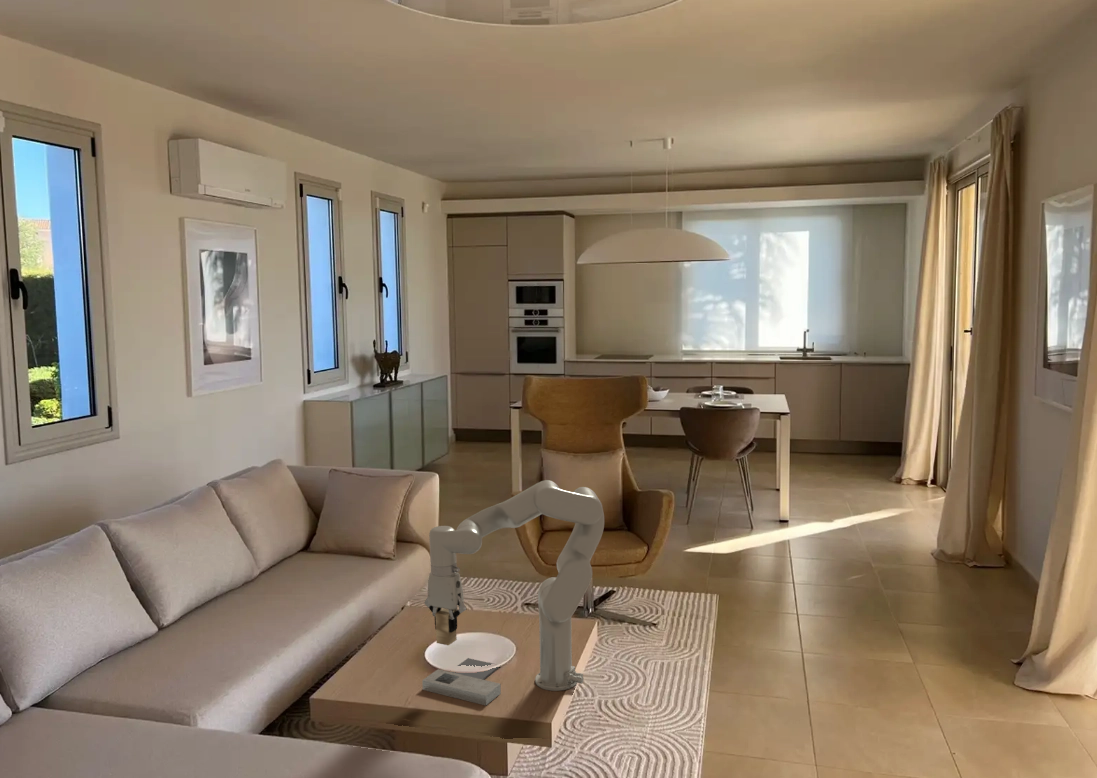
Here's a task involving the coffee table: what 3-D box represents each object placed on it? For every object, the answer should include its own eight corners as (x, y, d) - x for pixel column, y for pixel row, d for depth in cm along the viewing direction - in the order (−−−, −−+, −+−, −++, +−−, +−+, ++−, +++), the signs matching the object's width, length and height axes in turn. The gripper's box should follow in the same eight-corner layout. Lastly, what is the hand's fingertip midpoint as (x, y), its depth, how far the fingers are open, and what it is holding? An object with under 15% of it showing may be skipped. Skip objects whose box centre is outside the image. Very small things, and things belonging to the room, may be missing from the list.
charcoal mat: (500, 667, 262) (500, 665, 262) (480, 683, 252) (479, 681, 251) (468, 659, 268) (468, 658, 268) (446, 675, 257) (446, 673, 257)
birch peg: (456, 640, 248) (455, 610, 247) (448, 645, 244) (447, 615, 243) (444, 637, 250) (443, 608, 249) (436, 643, 246) (435, 613, 245)
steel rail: (500, 693, 245) (500, 683, 244) (486, 705, 238) (486, 695, 237) (438, 678, 255) (438, 669, 255) (422, 689, 248) (422, 680, 248)
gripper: (475, 569, 244) (477, 629, 246) (427, 561, 252) (430, 620, 254) (460, 577, 237) (463, 639, 239) (412, 569, 245) (415, 629, 247)
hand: (446, 628), depth 247 cm, fingers closed on birch peg, 4 cm apart
